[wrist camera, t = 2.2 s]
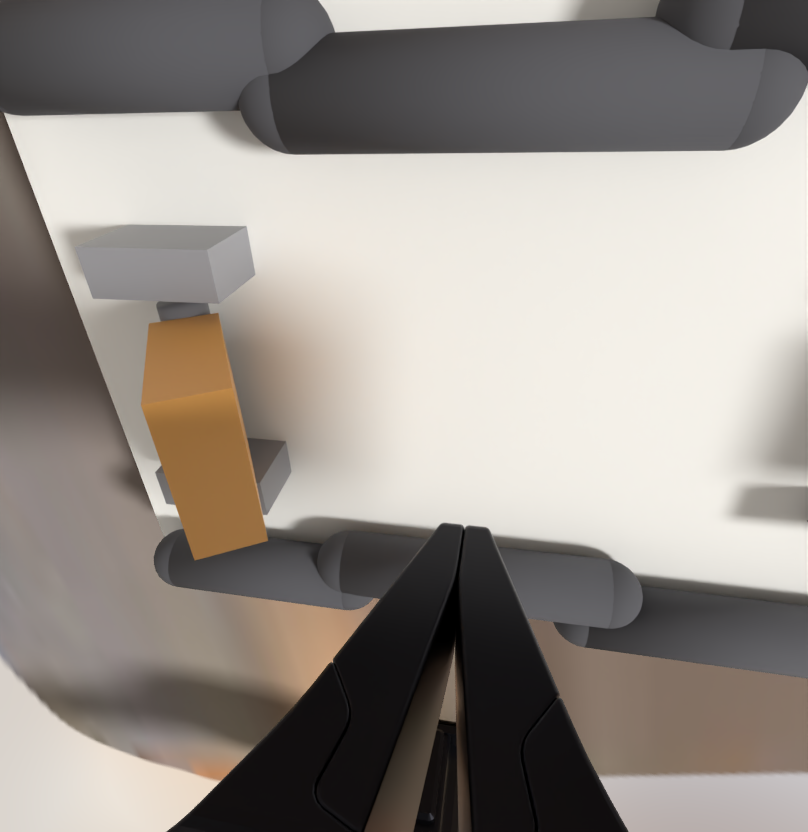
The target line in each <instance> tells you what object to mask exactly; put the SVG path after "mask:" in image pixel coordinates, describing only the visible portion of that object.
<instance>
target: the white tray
mask: <svg viewBox="0 0 808 832" xmlns="http://www.w3.org/2000/svg"><path fill="white" fill-rule="evenodd" d="M318 1H319V2H320V3H321V5H322V6H323V7H324V9H325V10H326V12H327V13H328V15H329V18H330V20H331V22H332V24H333V27H334V30H335V32H353V31H373V30H394V29H414V28H435V27H455V26H476V25H496V24H517V23H537V22H558V21H578V20H599V19H619V18H639V17H655V15H656V11H657V7H658V4H659V2H660V0H318ZM4 115H5V117H6V120H7V123H8V125H9V128H10V130H11V133H12V136H13V138H14V141H15V144H16V146H17V149H18V152H19V154H20V157H21V160H22V162H23V165H24V168H25V170H26V173H27V176H28V178H29V181H30V183H31V186H32V189H33V191H34V194H35V197H36V199H37V202H38V205H39V207H40V210H41V213H42V215H43V218H44V221H45V223H46V226H47V229H48V231H49V234H50V236H51V239H52V242H53V244H54V247H55V250H56V252H57V255H58V258H59V260H60V263H61V266H62V268H63V271H64V274H65V276H66V279H67V282H68V284H69V287H70V289H71V292H72V295H73V297H74V300H75V303H76V305H77V308H78V311H79V313H80V316H81V319H82V321H83V324H84V327H85V329H86V332H87V335H88V337H89V340H90V342H91V345H92V348H93V350H94V353H95V356H96V358H97V361H98V364H99V366H100V369H101V372H102V374H103V377H104V380H105V382H106V385H107V387H108V390H109V393H110V395H111V398H112V401H113V403H114V406H115V409H116V411H117V414H118V417H119V419H120V422H121V425H122V427H123V430H124V433H125V435H126V438H127V440H128V443H129V446H130V448H131V451H132V454H133V456H134V459H135V462H136V464H137V467H138V470H139V472H140V475H141V478H142V480H143V483H144V486H145V488H146V491H147V493H148V496H149V499H150V501H151V504H152V507H153V509H154V512H155V515H156V517H157V520H158V523H159V525H160V528H161V531H162V533H163V536H164V537H166V536H167V535H168V534H169V533H171V532H173V531H176V530H178V529H184V528H183V526H182V523H181V520H180V517H179V514H178V511H177V508H176V505H175V502H174V500H173V497H172V494H171V491H170V488H169V485H168V482H167V479H166V476H165V474H164V471H163V468H162V465H161V462H160V459H159V456H158V453H157V450H156V448H155V445H154V442H153V439H152V436H151V433H150V430H149V427H148V424H147V422H146V419H145V416H144V413H143V410H142V407H141V399H142V388H143V378H144V368H145V357H146V347H147V337H148V326H149V323H155V322H161V321H160V318H159V315H158V311H157V308H156V304H157V303H158V302H159V301H164V302H188V303H208V305H209V310H210V314H214V313H218V314H219V318H220V322H221V327H222V331H223V335H224V340H225V344H226V348H227V353H228V357H229V361H230V366H231V370H232V374H233V379H234V383H235V387H236V392H237V396H238V401H239V405H240V409H241V414H242V418H243V422H244V427H245V431H246V435H247V440H248V444H249V449H250V454H251V459H252V464H253V468H254V473H255V478H256V483H257V488H258V493H259V498H260V503H261V508H262V513H263V518H264V522H265V527H266V532H267V537H269V538H277V539H286V540H294V541H303V542H311V543H320V544H323V543H324V542H325V541H326V540H327V539H328V538H329V537H330V536H332V535H333V534H335V533H338V532H340V531H345V530H354V531H363V532H372V533H381V534H390V535H399V536H407V537H416V538H425V539H428V538H429V537H430V536H431V535H432V533H433V532H434V531H435V530H436V528H437V527H438V526H439V525H440V524H441V523H454V524H461V525H463V526H464V529H465V527H466V526H468V525H473V526H482V527H487V528H489V530H490V531H491V534H492V536H493V538H494V541H495V543H496V545H497V547H505V548H514V549H523V550H532V551H541V552H550V553H559V554H568V555H576V556H585V557H594V558H603V559H610V560H614V561H617V562H619V563H621V564H623V565H624V566H626V567H628V568H629V569H630V570H631V571H632V572H633V573H634V575H635V576H636V577H637V579H638V581H639V583H640V585H641V586H646V587H654V588H663V589H671V590H680V591H688V592H696V593H705V594H713V595H722V596H730V597H738V598H747V599H755V600H763V601H772V602H780V603H789V604H797V605H805V606H808V84H807V87H806V89H805V92H804V94H803V96H802V98H801V100H800V101H799V103H798V105H797V106H796V108H795V109H794V111H793V112H792V114H791V115H790V116H789V117H788V118H787V119H786V120H785V121H784V122H783V123H782V124H781V126H779V127H778V128H777V129H776V130H775V131H773V132H772V133H771V134H769V135H768V136H766V137H765V138H763V139H761V140H759V141H757V142H755V143H753V144H751V145H749V146H746V147H742V148H739V149H735V150H725V151H647V152H538V153H430V154H321V155H293V154H284V153H281V152H278V151H275V150H273V149H271V148H269V147H268V146H266V145H264V144H263V143H262V142H261V141H260V140H259V139H258V138H257V137H255V136H254V135H253V133H252V132H251V130H250V129H249V128H248V126H247V125H246V123H245V121H244V119H243V117H242V114H241V112H240V111H207V112H166V113H124V114H83V115H41V116H19V115H11V114H8V113H4Z"/></svg>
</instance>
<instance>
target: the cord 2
mask: <svg viewBox="0 0 808 832" xmlns="http://www.w3.org/2000/svg"><path fill="white" fill-rule="evenodd" d="M427 540H428V539H425V538H416V537H407V536H399V535H390V534H381V533H372V532H363V531H354V530H345V531H340V532H338V533H335V534H333V535H332V536H330V537H329V538H328V539H327V540H326V541H325V542H324V543H323V544H320V543H311V542H303V541H294V540H286V539H277V538H269V537H268V541H266V542H262V543H258V544H255V545H251V546H247V547H243V548H240V549H236V550H232V551H228V552H225V553H221V554H217V555H214V556H210V557H206V558H202V559H199V560H194V557H193V554H192V552H191V549H190V546H189V543H188V540H187V537H186V534H185V531H184V529H178V530H176V531H173V532H171V533H169V534H168V535H167V536H166V537H164V538H163V539H162V541H161V542H160V543H159V545H158V546H157V548H156V551H155V555H154V565H155V569H156V572H157V573H158V575H159V577H160V578H161V579H162V580H163V581H164V582H166V583H168V584H170V585H172V586H176V587H183V588H190V589H197V590H204V591H212V592H219V593H226V594H233V595H241V596H248V597H255V598H262V599H269V600H277V601H284V602H291V603H298V604H306V605H313V606H320V607H327V608H334V609H342V610H355V609H359V608H362V607H364V606H365V605H367V604H368V603H369V602H370V601H371V600H372V599H373V598H378V599H381V598H382V597H383V595H384V594H385V593H386V591H387V590H388V589H389V588H390V586H391V585H392V584H393V583H394V581H395V580H396V579H397V578H398V576H399V575H400V574H401V573H402V571H403V570H404V569H405V568H406V566H407V565H408V564H409V562H410V561H411V560H412V559H413V557H414V556H415V555H416V554H417V552H418V551H419V550H420V549H421V547H422V546H423V545H424V544H425V542H426V541H427ZM497 548H498V550H499V552H500V555H501V557H502V560H503V562H504V564H505V567H506V569H507V571H508V574H509V576H510V578H511V581H512V583H513V585H514V588H515V590H516V592H517V595H518V597H519V600H520V602H521V604H522V607H523V609H524V611H525V614H526V616H527V618H529V619H536V620H544V621H551V622H553V623H554V625H555V627H556V629H557V630H558V632H559V633H560V634H561V635H562V636H563V637H564V638H565V639H566V640H568V641H569V642H571V643H573V644H575V645H577V646H581V647H586V648H593V649H600V650H608V651H615V652H622V653H629V654H636V655H643V656H651V657H658V658H665V659H672V660H679V661H686V662H693V663H701V664H708V665H715V666H722V667H729V668H736V669H744V670H751V671H758V672H765V673H772V674H779V675H787V676H794V677H801V678H808V606H805V605H797V604H789V603H780V602H772V601H763V600H755V599H747V598H738V597H730V596H722V595H713V594H705V593H696V592H688V591H680V590H671V589H663V588H654V587H646V586H641V585H640V583H639V581H638V579H637V577H636V576H635V575H634V573H633V572H632V571H631V570H630V569H629V568H628V567H626V566H624V565H623V564H621V563H619V562H617V561H614V560H610V559H603V558H594V557H585V556H576V555H568V554H559V553H550V552H541V551H532V550H523V549H514V548H505V547H497Z"/></svg>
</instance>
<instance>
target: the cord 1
mask: <svg viewBox="0 0 808 832" xmlns="http://www.w3.org/2000/svg"><path fill="white" fill-rule="evenodd" d="M807 84H808V0H660V2H659V4H658V7H657V11H656V15H655V17H639V18H619V19H599V20H578V21H558V22H537V23H517V24H496V25H476V26H455V27H435V28H414V29H394V30H373V31H353V32H335V30H334V27H333V24H332V22H331V20H330V18H329V15H328V13H327V12H326V10H325V9H324V7H323V6H322V5H321V3H320V2H319V1H318V0H0V111H1V112H4V113H8V114H11V115H19V116H41V115H83V114H124V113H166V112H207V111H240V112H241V114H242V117H243V119H244V121H245V123H246V125H247V126H248V128H249V129H250V130H251V132H252V133H253V135H254V136H255V137H257V138H258V139H259V140H260V141H261V142H262V143H263V144H264V145H266V146H268V147H269V148H271V149H273V150H275V151H278V152H281V153H284V154H293V155H321V154H430V153H538V152H647V151H725V150H735V149H739V148H742V147H746V146H749V145H751V144H753V143H755V142H757V141H759V140H761V139H763V138H765V137H766V136H768V135H769V134H771V133H772V132H773V131H775V130H776V129H777V128H778V127H779V126H781V124H782V123H783V122H784V121H785V120H786V119H787V118H788V117H789V116H790V115H791V114H792V112H793V111H794V109H795V108H796V106H797V105H798V103H799V101H800V100H801V98H802V96H803V94H804V92H805V89H806V87H807Z"/></svg>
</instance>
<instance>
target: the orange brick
mask: <svg viewBox="0 0 808 832" xmlns="http://www.w3.org/2000/svg"><path fill="white" fill-rule="evenodd" d="M156 308H157V311H158V315H159V318H160V321H161V322H155V323H149V326H148V337H147V347H146V357H145V368H144V378H143V388H142V399H141V407H142V410H143V413H144V416H145V419H146V422H147V424H148V427H149V430H150V433H151V436H152V439H153V442H154V445H155V448H156V450H157V453H158V456H159V459H160V462H161V465H162V468H163V471H164V474H165V476H166V479H167V482H168V485H169V488H170V491H171V494H172V497H173V500H174V502H175V505H176V508H177V511H178V514H179V517H180V520H181V523H182V526H183V528H184V531H185V534H186V537H187V540H188V543H189V546H190V549H191V552H192V554H193V557H194V560H199V559H202V558H206V557H210V556H214V555H217V554H221V553H225V552H228V551H232V550H236V549H240V548H243V547H247V546H251V545H255V544H258V543H262V542H266V541H268V537H267V532H266V527H265V522H264V518H263V513H262V508H261V503H260V498H259V493H258V488H257V483H256V478H255V473H254V468H253V464H252V459H251V454H250V449H249V444H248V440H247V435H246V431H245V427H244V422H243V418H242V414H241V409H240V405H239V401H238V396H237V392H236V387H235V383H234V379H233V374H232V370H231V366H230V361H229V357H228V353H227V348H226V344H225V340H224V335H223V331H222V327H221V322H220V318H219V314H218V313H214V314H210V310H209V305H208V303H188V302H164V301H159V302H158V303H157V304H156Z"/></svg>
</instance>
